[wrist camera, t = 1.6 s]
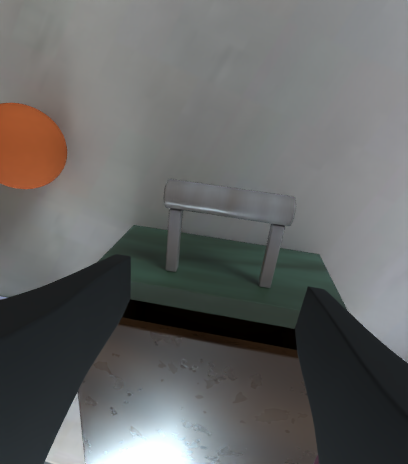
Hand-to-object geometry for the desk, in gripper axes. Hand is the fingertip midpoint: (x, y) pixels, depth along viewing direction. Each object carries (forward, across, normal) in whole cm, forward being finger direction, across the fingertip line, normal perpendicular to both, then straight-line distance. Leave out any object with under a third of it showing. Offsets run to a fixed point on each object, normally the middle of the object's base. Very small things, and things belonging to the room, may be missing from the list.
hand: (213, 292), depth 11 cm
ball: (+7, +13, -3) cm, 15 cm away
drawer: (+9, 0, +5) cm, 10 cm away
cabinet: (+9, 0, +10) cm, 14 cm away
